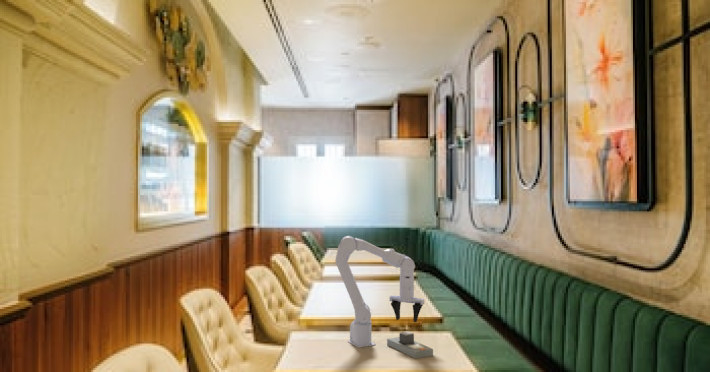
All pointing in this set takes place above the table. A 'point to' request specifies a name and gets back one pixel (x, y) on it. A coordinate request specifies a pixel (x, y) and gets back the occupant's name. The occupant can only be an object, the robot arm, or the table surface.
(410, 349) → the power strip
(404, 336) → the plug block
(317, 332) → the table surface
